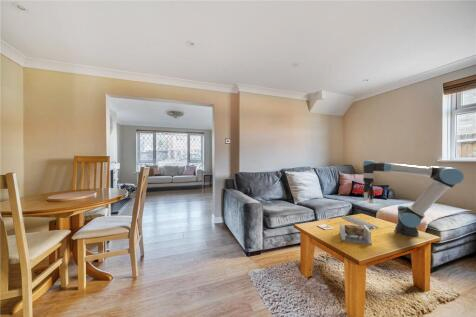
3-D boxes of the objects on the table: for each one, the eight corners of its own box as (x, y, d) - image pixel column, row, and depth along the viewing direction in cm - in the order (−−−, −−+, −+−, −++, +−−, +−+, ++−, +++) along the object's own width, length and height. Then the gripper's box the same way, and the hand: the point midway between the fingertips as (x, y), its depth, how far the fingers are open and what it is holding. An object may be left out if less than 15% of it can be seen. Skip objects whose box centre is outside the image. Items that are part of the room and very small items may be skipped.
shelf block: (360, 233, 151) (360, 225, 151) (363, 236, 145) (363, 228, 145) (344, 231, 154) (344, 224, 154) (347, 235, 148) (347, 227, 148)
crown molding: (378, 228, 171) (378, 225, 171) (368, 230, 168) (368, 226, 167) (349, 217, 201) (349, 214, 201) (340, 218, 198) (340, 215, 198)
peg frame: (365, 236, 153) (366, 225, 153) (371, 244, 140) (371, 231, 139) (338, 233, 160) (339, 222, 159) (342, 240, 146) (342, 228, 146)
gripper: (359, 175, 178) (359, 197, 178) (368, 179, 154) (367, 204, 155) (368, 176, 175) (368, 198, 176) (378, 179, 152) (378, 205, 152)
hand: (368, 201), depth 165 cm, fingers open, 13 cm apart
